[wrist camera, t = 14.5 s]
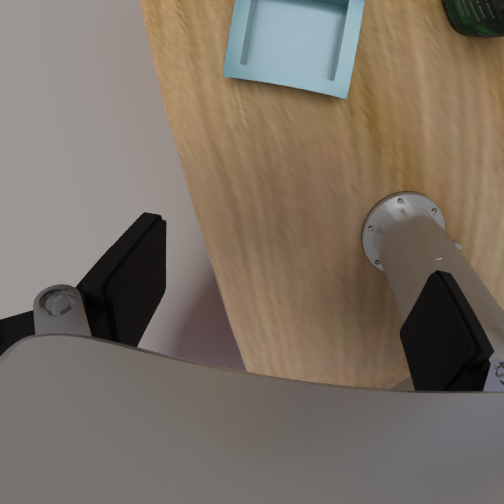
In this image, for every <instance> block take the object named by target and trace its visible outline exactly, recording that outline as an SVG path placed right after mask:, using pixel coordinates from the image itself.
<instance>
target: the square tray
mask: <svg viewBox="0 0 504 504" xmlns="http://www.w3.org/2000/svg"><path fill="white" fill-rule="evenodd" d="M364 3H365V0H235V5H234V11H233V16H232V22H231V28H230V33H229V39H228V45H227V52H226V58H225V64H224V71H223V77H230V78H239V79H246V80H253V81H260V82H266V83H273V84H278V85H284V86H289V87H295V88H300V89H305V90H309V91H314V92H318V93H323V94H327V95H331V96H335V97H339V98H343V99H347V95H348V90H349V85H350V80H351V75H352V70H353V65H354V60H355V55H356V49H357V44H358V38H359V33H360V27H361V21H362V15H363V9H364Z"/></svg>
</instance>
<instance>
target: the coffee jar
mask: <svg viewBox="0 0 504 504" xmlns="http://www.w3.org/2000/svg"><path fill="white" fill-rule="evenodd" d="M444 4H445V8H446V11H447V14H448V16H449V18H450V20H451V22H452V24H453V25H454V27H455V28H456V29H457V30H458V31H459V32H461V33H462V34H465V35H468V36H473V37H486V38H487V37H504V0H444Z"/></svg>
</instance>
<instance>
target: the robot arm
mask: <svg viewBox="0 0 504 504" xmlns="http://www.w3.org/2000/svg"><path fill="white" fill-rule="evenodd" d="M398 198H400V199H399V200H398ZM369 226H370V227H369ZM362 244H363V248H364V251H365V254H366V256H367V258H368V259H369V261H370V262H371V263H372V264H373V265H374V266H375V267H376V268H378V269H379V270H381V271H383V272H385V275H386V278H387V280H388V283H389V285H390V288H391V291H392V294H393V296H394V299H395V302H396V305H397V308H398V311H399V313H400V316H401V319H402V322H403V326H402V328H401V330H400V338H401V341H402V345H403V348H404V352H405V355H406V359H407V362H408V366H409V370H410V374H411V377H409V378H408V379H406V380H404V381H403V382H401V383H400V384H398V385H396V386H395V387H393V388H391V389H378V388H364V387H353V386H343V385H333V384H324V383H316V382H308V381H301V380H293V379H287V378H280V377H274V376H267V375H261V374H255V373H250V372H244V371H239V370H233V369H228V368H223V367H219V366H214V365H209V364H204V363H200V362H195V361H191V360H186V359H182V358H178V357H174V356H170V355H165V354H161V353H157V352H154V351H150V350H145V349H142V348H138V347H137V346H138V344H139V341H140V340H141V338H142V336H143V334H144V332H145V330H146V328H147V326H148V324H149V322H150V320H151V318H152V316H153V314H154V312H155V310H156V309H157V306H158V305H159V303H160V301H161V299H162V297H163V295H164V293H165V289H166V221H165V220H162V217H161V215H157V214H151V213H146V212H144V213H143V214H142V215H141V216H140V217H139V218H138V219H137V220H136V221H135V222H134V223H133V224H132V225H131V226H130V227H129V228H128V230H127V231H126V232H125V233H124V234H123V235H122V236H121V237H120V238H119V239H118V240H117V241H116V243H115V244H114V245H113V246H111V247H110V248H109V249H108V251H106V253H105V254H104V255H103V256H102V257H101V258H100V259H99V260H98V262H97V263H96V264H95V265H94V266H93V267H92V269H91V270H90V271H89V272H88V273H87V274H86V275H85V277H84V278H83V279H82V280H81V281H80V282H79V284H78V285H77V286H76V287H72V286H70V285H63V284H60V285H54V286H51V287H48V288H46V289H44V290H43V291H41V292H40V293H39V294H38V295H37V297H36V298H35V300H34V305H33V311H29V312H26V313H22V314H18V315H15V316H11V317H8V318H4V319H1V320H0V504H504V311H503V310H502V308H501V307H500V306H499V304H498V303H497V302H496V300H495V299H494V298H493V296H492V295H491V293H490V292H489V291H488V289H487V288H486V286H485V285H484V284H483V282H482V281H481V279H480V278H479V276H478V275H477V274H476V272H475V271H474V269H473V268H472V267H471V265H470V264H469V263H468V261H467V260H466V258H465V257H464V256H463V254H462V253H461V252H460V249H461V243H460V242H457V241H454V240H451V239H450V237H449V236H448V235H447V233H446V232H445V221H444V218H443V214H442V213H441V211H440V209H439V207H438V206H437V205H436V204H435V203H434V202H433V201H432V200H431V199H430V198H428V197H427V196H425V195H423V194H420V193H417V192H408V191H407V192H399V193H396V194H393V195H390V196H388V197H387V198H385V199H383V200H382V201H381V202H379V203H378V204H377V205H376V206H375V207H374V208H373V209H372V210H371V212H370V213H369V215H368V217H367V218H366V221H365V223H364V226H363V231H362Z"/></svg>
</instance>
